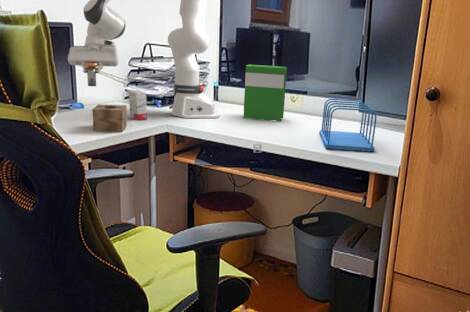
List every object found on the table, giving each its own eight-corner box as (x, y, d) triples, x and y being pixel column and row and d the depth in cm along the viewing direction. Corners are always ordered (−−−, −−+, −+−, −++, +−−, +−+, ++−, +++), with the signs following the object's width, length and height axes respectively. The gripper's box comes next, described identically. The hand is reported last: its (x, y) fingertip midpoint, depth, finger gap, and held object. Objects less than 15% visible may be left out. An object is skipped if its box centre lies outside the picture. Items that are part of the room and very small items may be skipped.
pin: (100, 85, 199) (99, 62, 197) (97, 86, 194) (96, 63, 192) (87, 84, 199) (86, 62, 196) (83, 86, 194) (82, 63, 191)
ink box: (147, 119, 206) (147, 92, 203) (136, 120, 203) (136, 93, 200) (139, 116, 213) (139, 89, 210) (128, 116, 210) (128, 90, 207)
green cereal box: (283, 118, 223) (286, 67, 217) (280, 121, 216) (284, 68, 210) (246, 115, 227) (249, 64, 220) (243, 117, 220) (246, 65, 213)
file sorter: (374, 153, 169) (379, 110, 164) (325, 149, 170) (329, 107, 166) (361, 137, 193) (366, 99, 189) (318, 134, 194) (322, 97, 190)
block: (126, 125, 192) (126, 105, 190) (122, 132, 181) (122, 110, 179) (99, 125, 191) (98, 104, 189) (93, 131, 181) (92, 109, 178)
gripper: (68, 40, 197) (63, 66, 191) (118, 42, 199) (114, 68, 192) (72, 50, 203) (67, 76, 196) (120, 52, 205) (117, 77, 198)
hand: (91, 72), depth 194 cm, fingers closed on pin, 3 cm apart
